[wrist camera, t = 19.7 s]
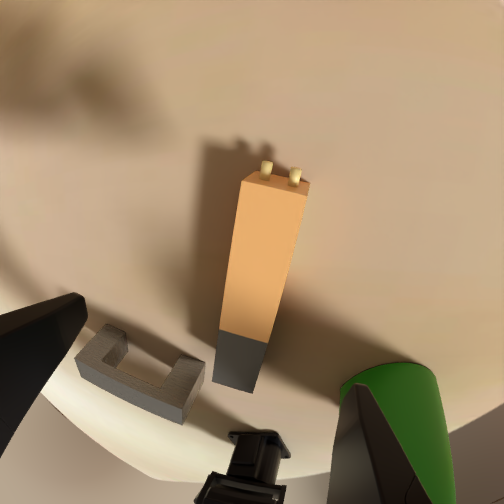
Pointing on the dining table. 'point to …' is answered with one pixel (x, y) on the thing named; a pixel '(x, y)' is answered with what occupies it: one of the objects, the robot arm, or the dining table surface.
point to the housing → (132, 389)
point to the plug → (257, 272)
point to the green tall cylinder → (414, 422)
